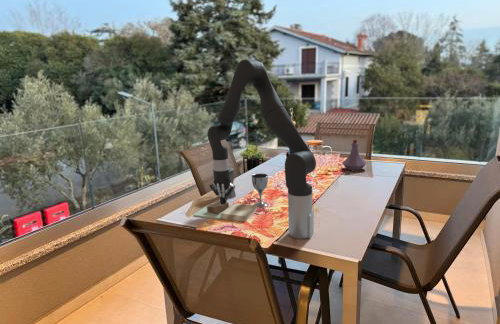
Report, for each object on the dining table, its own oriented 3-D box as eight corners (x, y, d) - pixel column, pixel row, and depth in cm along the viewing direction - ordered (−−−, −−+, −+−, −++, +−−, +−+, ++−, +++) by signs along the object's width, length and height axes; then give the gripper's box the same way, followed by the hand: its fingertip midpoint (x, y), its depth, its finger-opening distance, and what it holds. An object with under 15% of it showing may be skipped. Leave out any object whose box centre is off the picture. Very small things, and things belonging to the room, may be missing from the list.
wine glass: (271, 203, 168) (270, 174, 165) (264, 208, 162) (262, 178, 158) (257, 200, 172) (256, 172, 169) (249, 205, 166) (248, 176, 162)
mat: (234, 207, 165) (234, 206, 165) (219, 219, 151) (219, 218, 150) (210, 204, 170) (209, 203, 170) (193, 216, 156) (193, 214, 156)
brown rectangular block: (228, 208, 162) (228, 202, 162) (217, 214, 155) (216, 208, 154) (219, 206, 165) (218, 200, 165) (207, 212, 158) (206, 206, 157)
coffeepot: (241, 197, 179) (239, 164, 175) (226, 201, 174) (223, 167, 170) (227, 190, 192) (225, 159, 188) (212, 193, 187) (210, 162, 183)
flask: (350, 165, 237) (351, 137, 232) (372, 168, 224) (373, 139, 220) (336, 169, 227) (337, 140, 222) (358, 173, 214) (359, 143, 210)
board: (256, 210, 159) (256, 205, 159) (245, 221, 147) (245, 216, 146) (234, 207, 164) (233, 203, 163) (220, 218, 151) (220, 213, 151)
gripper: (204, 169, 153) (207, 205, 157) (230, 171, 148) (232, 208, 152) (212, 165, 159) (215, 200, 163) (237, 167, 154) (239, 202, 158)
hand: (223, 204), depth 157 cm, fingers closed
